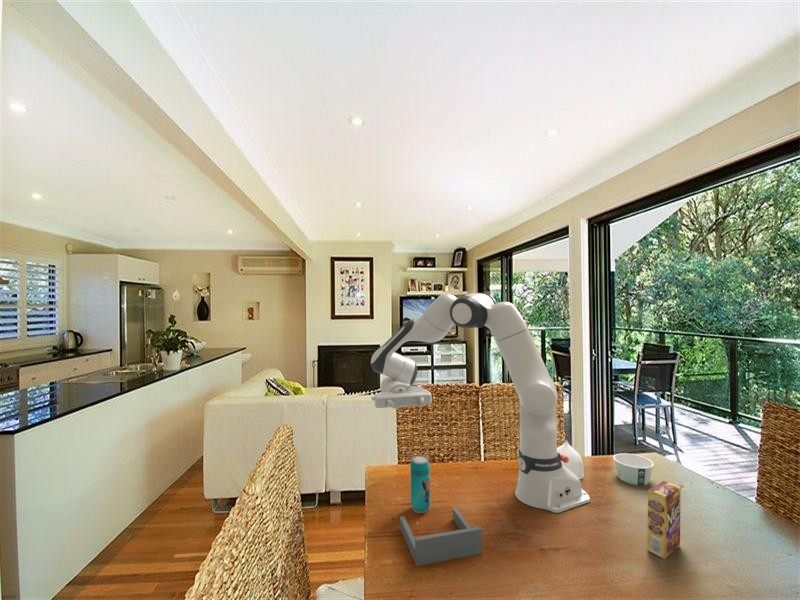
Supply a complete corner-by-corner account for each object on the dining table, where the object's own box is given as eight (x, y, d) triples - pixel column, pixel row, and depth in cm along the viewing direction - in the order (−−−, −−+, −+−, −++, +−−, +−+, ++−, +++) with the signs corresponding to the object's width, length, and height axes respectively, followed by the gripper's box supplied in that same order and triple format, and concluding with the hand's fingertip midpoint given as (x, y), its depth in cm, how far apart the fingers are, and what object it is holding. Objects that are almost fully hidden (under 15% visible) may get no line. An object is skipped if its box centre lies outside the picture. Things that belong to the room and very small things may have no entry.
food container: (607, 470, 138) (607, 452, 138) (643, 472, 136) (643, 454, 136) (622, 486, 126) (622, 466, 126) (661, 488, 124) (661, 468, 124)
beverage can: (423, 517, 109) (423, 465, 109) (407, 510, 112) (406, 460, 112) (433, 508, 113) (433, 458, 113) (417, 502, 117) (417, 453, 117)
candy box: (666, 560, 90) (665, 496, 90) (646, 551, 93) (645, 489, 93) (682, 547, 94) (681, 486, 95) (662, 538, 98) (661, 479, 98)
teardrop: (563, 482, 129) (563, 447, 129) (544, 468, 140) (543, 436, 140) (591, 478, 132) (590, 443, 132) (569, 465, 142) (569, 433, 142)
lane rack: (456, 518, 108) (456, 497, 108) (481, 553, 93) (481, 529, 93) (400, 527, 104) (399, 505, 104) (416, 566, 88) (416, 540, 88)
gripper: (370, 388, 136) (377, 397, 123) (424, 384, 141) (436, 393, 128) (370, 405, 136) (377, 416, 123) (424, 401, 141) (437, 411, 128)
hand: (408, 404), depth 125 cm, fingers open, 8 cm apart
